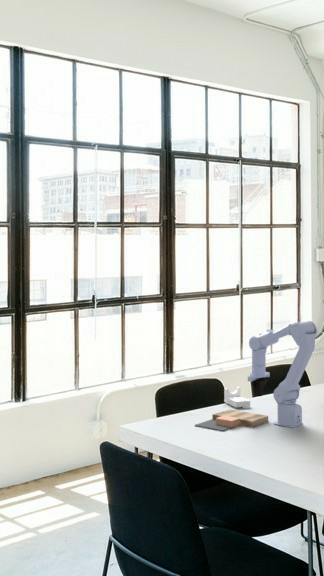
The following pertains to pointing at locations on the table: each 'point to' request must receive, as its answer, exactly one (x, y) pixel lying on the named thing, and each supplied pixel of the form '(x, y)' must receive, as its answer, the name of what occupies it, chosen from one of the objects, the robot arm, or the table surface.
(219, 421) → the block
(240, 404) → the bracket
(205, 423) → the mat
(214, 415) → the board
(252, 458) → the table surface
